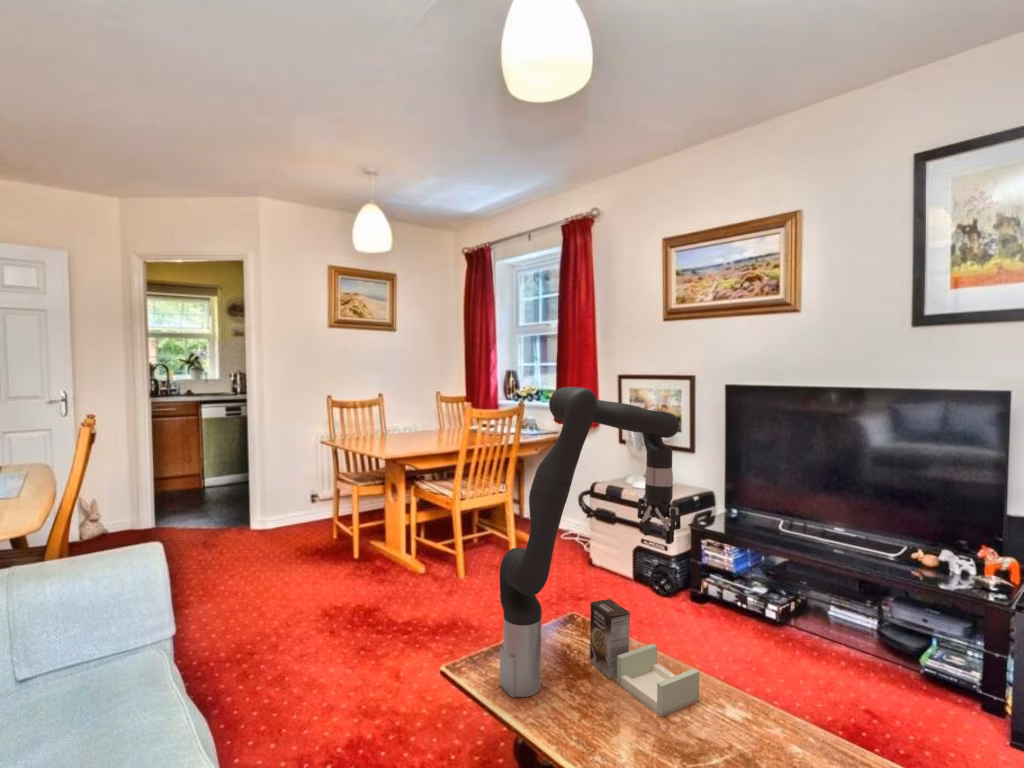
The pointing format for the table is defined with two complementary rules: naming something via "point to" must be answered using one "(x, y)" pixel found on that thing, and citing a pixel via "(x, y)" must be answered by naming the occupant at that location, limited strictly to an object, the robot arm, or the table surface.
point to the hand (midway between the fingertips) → (657, 539)
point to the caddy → (656, 681)
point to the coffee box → (608, 635)
